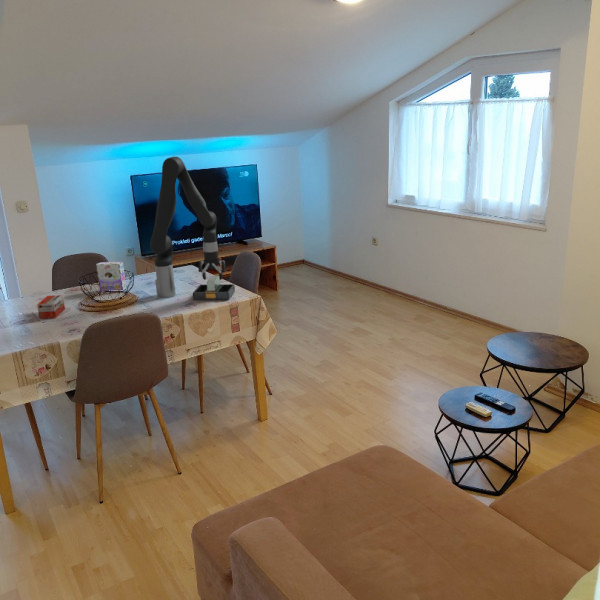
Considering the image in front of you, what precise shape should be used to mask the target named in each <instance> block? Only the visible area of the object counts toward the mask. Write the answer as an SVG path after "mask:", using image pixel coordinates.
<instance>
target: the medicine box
mask: <svg viewBox="0 0 600 600" xmlns="http://www.w3.org/2000/svg"><path fill="white" fill-rule="evenodd" d="M64 298H65V297H64V295H63V294H59V295H58V294H55V295H46V296H45V297H44V298H42V300H41V301H39V302H38V303H37V304H36V306H37V312H38V317H39V320H45V319H57V318H58V317H59V316H60V315H61V314H62V313H63V312H64V311H65V310H66V306H65V299H64Z"/></svg>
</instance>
